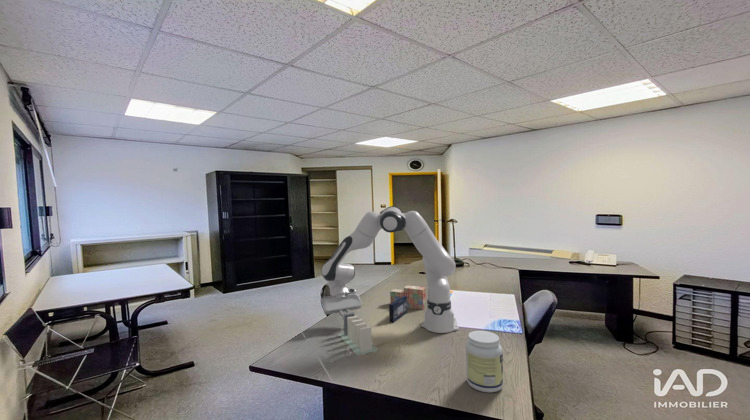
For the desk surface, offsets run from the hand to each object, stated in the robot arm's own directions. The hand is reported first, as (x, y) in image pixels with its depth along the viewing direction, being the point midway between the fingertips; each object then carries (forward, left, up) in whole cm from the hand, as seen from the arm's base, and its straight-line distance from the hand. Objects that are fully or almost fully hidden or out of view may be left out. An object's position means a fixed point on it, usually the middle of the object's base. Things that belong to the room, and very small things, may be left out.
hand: (346, 318), depth 159 cm
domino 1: (+3, +3, -6) cm, 8 cm away
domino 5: (+17, +17, -6) cm, 25 cm away
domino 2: (+6, +6, -6) cm, 11 cm away
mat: (+10, +10, -7) cm, 16 cm away
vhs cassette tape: (-27, +20, -7) cm, 34 cm away
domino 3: (+10, +10, -6) cm, 16 cm away
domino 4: (+14, +14, -6) cm, 20 cm away
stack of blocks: (-48, +20, -7) cm, 52 cm away
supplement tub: (+28, +66, -7) cm, 72 cm away
